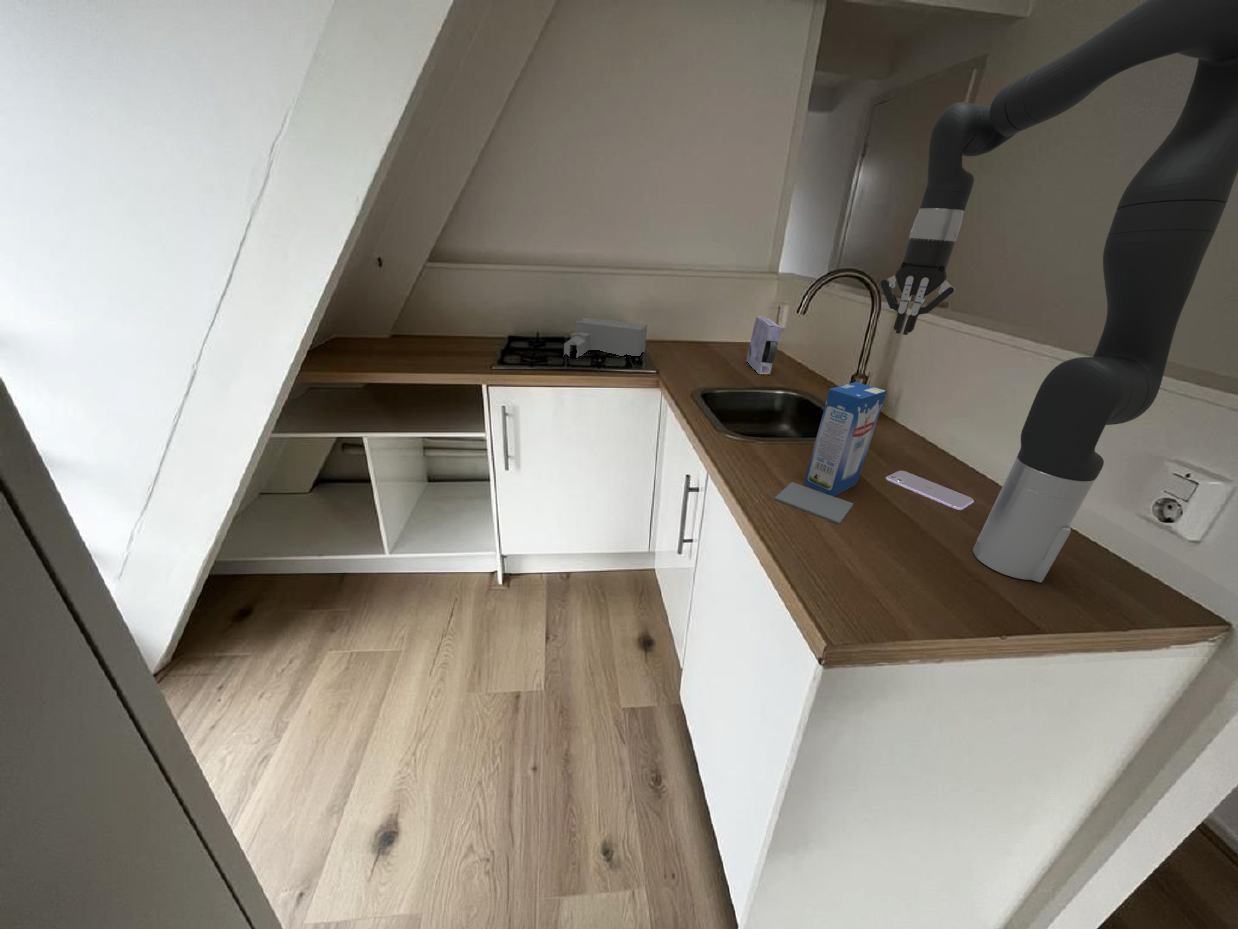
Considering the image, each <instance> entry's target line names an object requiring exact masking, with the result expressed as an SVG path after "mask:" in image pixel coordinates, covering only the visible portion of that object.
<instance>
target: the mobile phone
mask: <svg viewBox="0 0 1238 929" xmlns="http://www.w3.org/2000/svg"><path fill="white" fill-rule="evenodd" d="M885 480H886V481H888V482H891V483H892V484H895V485H897V486H900V487H902V488H904V489H906V490H910V491H912V492H913V493H915V494H919V495H922V497H925V498H928V499H930V500H932V501H934V502H938V503H939V504H941V505H942V504H943V505H944V506H946V507H949V508H952V509H954V510H958V511H963V510H965V508H967V507H968V506H970V505H972V504H973V503H974V499H973V498H972V497H971V496H969V495H966V494H963V493H960V492H958V491H955V490H954V489H950V488H947V487H945V486H943V485H940V484H939V483H936V482H933V481H930V480H928V479H926V478H923V477H921V476H919V475H916V474H913V473H910V472H908V471H906V470H898V471H896V472H894V473H891V474H890V475H887V476H886V477H885Z"/></svg>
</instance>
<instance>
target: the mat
mask: <svg viewBox="0 0 1238 929" xmlns="http://www.w3.org/2000/svg"><path fill="white" fill-rule="evenodd" d="M774 501H776V502H779V503H783V504H785V505H788V506H790V507H793V508H795V509H798V510H799V511H803V512H806V513H808V514H811V515H813V516H816V517H819V518H821V519H825V520H827V521H829V522H832V523H834V524H837V525H841V523H842V521H843V520H844V518H845V517H846V516H847V514H848V513H849V512H850V511H851V509H852V508H853V506H854V503H853V502H851V501H847V500H844V499H842V498H839V497H836V496H831V495H828V494H825V493H823V492H821V491H818V490H816V489H814V488H812V487H809V486H804V485H801V484H799V483H796V482H794V481H791V482H790V483H789V484H788V485H787V486H785V487H784V489H783V490H782V491H780V492H779V493H778V494H777V495H776V496H775V497H774Z"/></svg>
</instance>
